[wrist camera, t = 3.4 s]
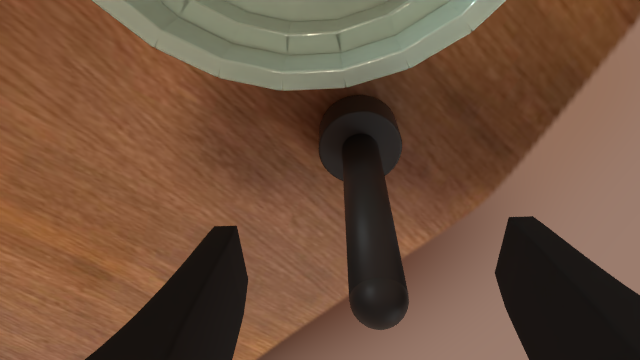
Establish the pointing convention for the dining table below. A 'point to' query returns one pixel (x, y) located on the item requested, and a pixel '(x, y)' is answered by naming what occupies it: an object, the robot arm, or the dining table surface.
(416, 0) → the bowl
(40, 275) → the dining table surface
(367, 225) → the black joystick lever
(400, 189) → the dining table surface
